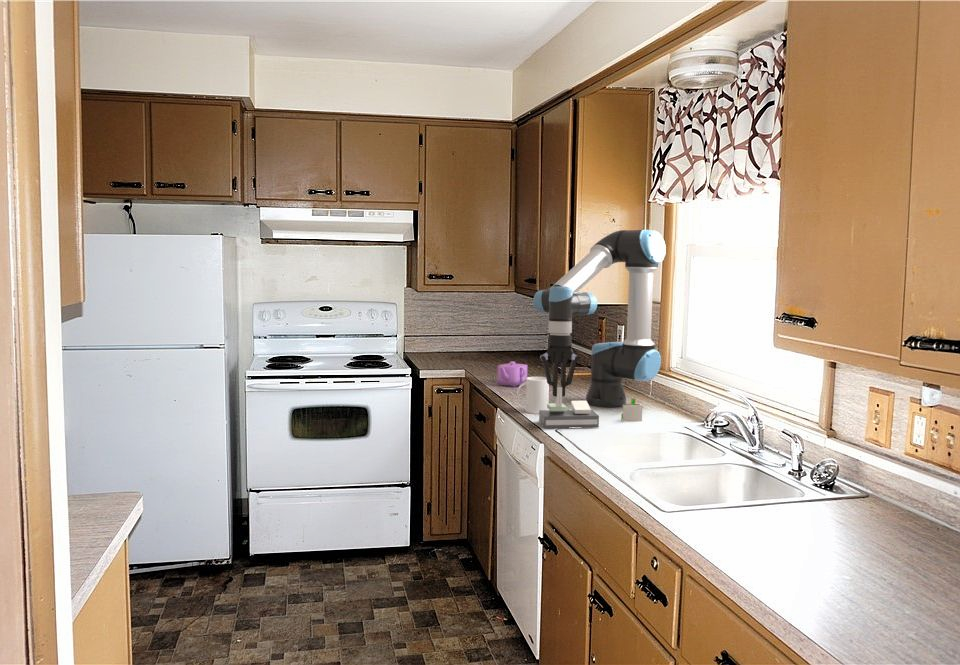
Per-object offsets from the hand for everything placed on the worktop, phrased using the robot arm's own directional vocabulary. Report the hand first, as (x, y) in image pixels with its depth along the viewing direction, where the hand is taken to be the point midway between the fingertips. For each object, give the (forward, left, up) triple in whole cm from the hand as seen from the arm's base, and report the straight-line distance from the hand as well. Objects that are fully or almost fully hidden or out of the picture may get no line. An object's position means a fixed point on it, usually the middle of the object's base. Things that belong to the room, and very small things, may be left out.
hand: (558, 406), depth 263 cm
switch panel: (-4, -4, -7) cm, 9 cm away
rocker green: (0, -4, -2) cm, 4 cm away
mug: (+4, -26, -7) cm, 27 cm away
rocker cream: (-8, -4, -2) cm, 9 cm away
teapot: (+5, -80, -7) cm, 80 cm away
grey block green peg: (-27, -9, -8) cm, 30 cm away
